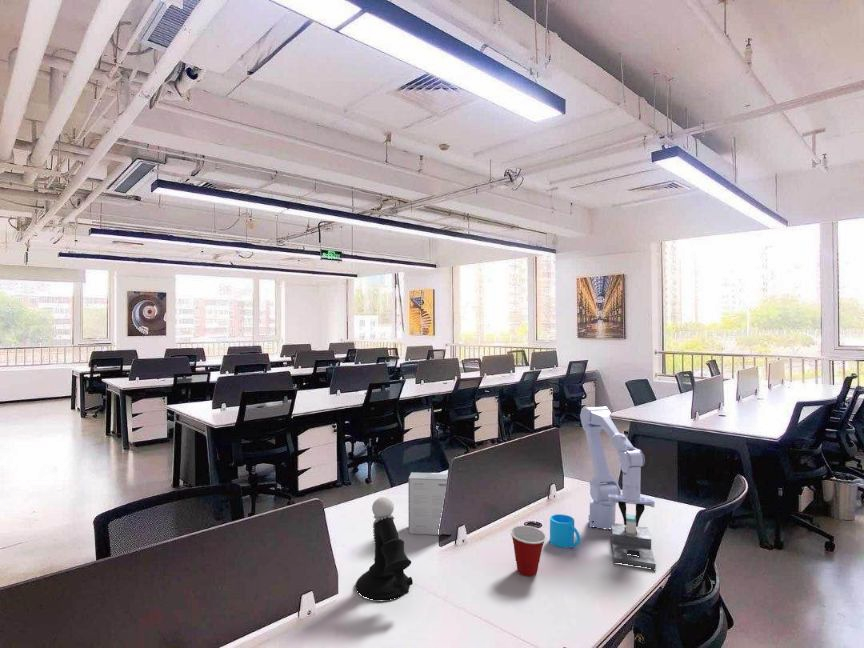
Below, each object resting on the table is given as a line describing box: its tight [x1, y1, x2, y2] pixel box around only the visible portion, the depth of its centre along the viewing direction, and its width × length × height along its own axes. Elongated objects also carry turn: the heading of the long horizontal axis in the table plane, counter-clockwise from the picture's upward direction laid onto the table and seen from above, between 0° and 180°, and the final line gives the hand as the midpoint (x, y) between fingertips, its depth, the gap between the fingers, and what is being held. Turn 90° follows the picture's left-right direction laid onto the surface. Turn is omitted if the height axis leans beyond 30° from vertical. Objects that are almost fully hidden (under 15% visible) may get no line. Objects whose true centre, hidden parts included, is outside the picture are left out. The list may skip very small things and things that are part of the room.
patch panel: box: [610, 522, 657, 570], centre depth 164 cm, size 12×22×4 cm, turn 162°
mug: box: [549, 513, 581, 548], centre depth 169 cm, size 12×8×8 cm
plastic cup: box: [510, 525, 547, 577], centre depth 150 cm, size 11×11×12 cm
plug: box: [626, 513, 636, 534], centre depth 170 cm, size 3×4×6 cm
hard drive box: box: [408, 471, 448, 536], centre depth 178 cm, size 16×8×20 cm, turn 84°
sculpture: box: [355, 497, 413, 601], centre depth 137 cm, size 15×24×25 cm, turn 27°
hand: (630, 524), depth 170 cm, fingers closed on plug, 3 cm apart
